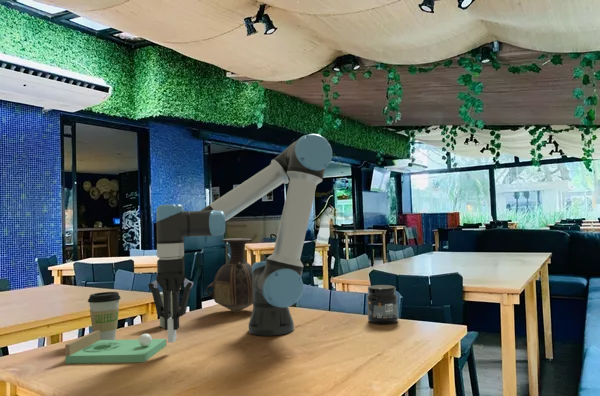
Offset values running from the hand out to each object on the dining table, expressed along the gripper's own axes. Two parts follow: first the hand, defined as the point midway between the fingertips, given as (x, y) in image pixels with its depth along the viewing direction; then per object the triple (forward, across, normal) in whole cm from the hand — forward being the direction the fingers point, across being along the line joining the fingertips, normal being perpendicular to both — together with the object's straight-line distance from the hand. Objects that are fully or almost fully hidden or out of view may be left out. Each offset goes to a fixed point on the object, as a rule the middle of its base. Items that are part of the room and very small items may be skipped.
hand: (172, 341), depth 128 cm
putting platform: (+4, +16, 0) cm, 16 cm away
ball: (0, +8, 0) cm, 8 cm away
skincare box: (+4, +14, -34) cm, 37 cm away
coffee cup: (+4, +28, -15) cm, 32 cm away
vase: (+3, -7, -55) cm, 56 cm away
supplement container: (+3, -63, -34) cm, 72 cm away
